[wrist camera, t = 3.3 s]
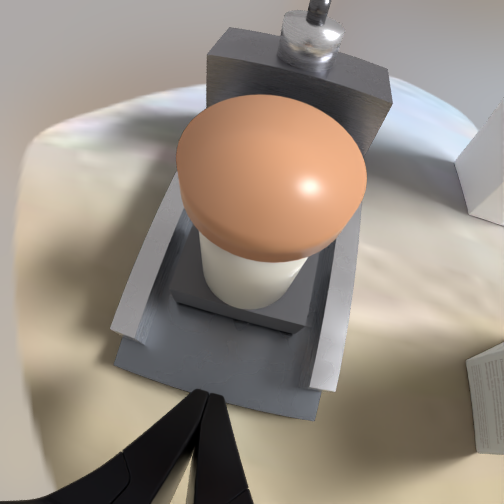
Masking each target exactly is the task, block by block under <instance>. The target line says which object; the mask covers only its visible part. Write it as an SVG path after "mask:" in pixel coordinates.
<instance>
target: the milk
mask: <svg viewBox="0 0 504 504" xmlns="http://www.w3.org/2000/svg"><path fill="white" fill-rule="evenodd" d="M454 164H455V167H456V170H457V174H458V177H459V180H460V183H461V187H462V190H463V194H464V198H465V201H466V205H467V209H468V213H469V215H472V216H475V217H478V218H481V219H484V220H487V221H490V222H493V223H496V224H499V225H502V226H504V98H503V99H502V101H501V102H500V104H499V105H498V107H497V108H496V109H495V110H494V112H493V113H492V114H491V116H490V117H489V118H488V120H487V121H486V122H485V124H484V125H483V126H482V128H481V129H480V130H479V131H478V133H477V134H476V135H475V137H474V138H473V139H472V140H471V142H470V143H469V144H468V145H467V147H466V148H465V149H464V150H463V152H462V153H461V154H460V155H459V156H458V158H457V159H456V160H455V161H454Z"/></svg>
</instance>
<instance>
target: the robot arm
mask: <svg viewBox="0 0 504 504" xmlns="http://www.w3.org/2000/svg"><path fill="white" fill-rule="evenodd" d="M192 454H193V455H192ZM191 456H192V461H191V467H190V475H189V482H188V490H187V498H186V504H254V503H253V500H252V497H251V493H250V490H249V489H248V484H247V480H246V477H245V473H244V470H243V466H242V463H241V459H240V456H239V452H238V449H237V445H236V441H235V437H234V434H233V430H232V426H231V422H230V418H229V414H228V410H227V406H226V402H225V398H224V396H222V395H219V394H215V393H210V394H209V392H208V391H205V390H201V389H198V388H197V389H194V390H193V391H192V392H191V393H190V394H189V395H188V396H186V397H185V398H184V399H183V400H182V401H181V402H180V403H178V404H177V405H176V406H175V407H174V408H173V409H171V410H170V411H169V412H168V413H167V414H166V415H164V416H163V417H162V418H161V419H160V420H159V421H157V422H156V423H155V424H154V425H153V426H151V427H150V428H149V429H148V430H147V431H145V432H144V433H143V434H142V435H141V436H139V437H138V438H137V439H136V440H134V441H133V442H132V443H131V444H129V445H128V446H127V447H126V448H125V449H123V450H122V452H119V453H118V454H117V455H116V456H114V457H113V458H112V459H110V460H109V461H108V462H106V463H105V464H103V465H102V466H101V467H99V468H98V469H96V470H94V471H93V472H91V473H89V474H88V475H86V476H84V477H82V478H80V479H79V480H77V481H75V482H73V483H71V484H69V485H67V486H65V487H63V488H61V489H59V490H57V491H55V492H53V493H51V494H49V495H47V496H44V497H41V498H37V499H32V500H20V501H0V504H170V502H171V500H172V498H173V496H174V493H175V491H176V489H177V487H178V485H179V483H180V481H181V479H182V476H183V474H184V472H185V470H186V468H187V466H188V464H189V461H190V459H191Z"/></svg>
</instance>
